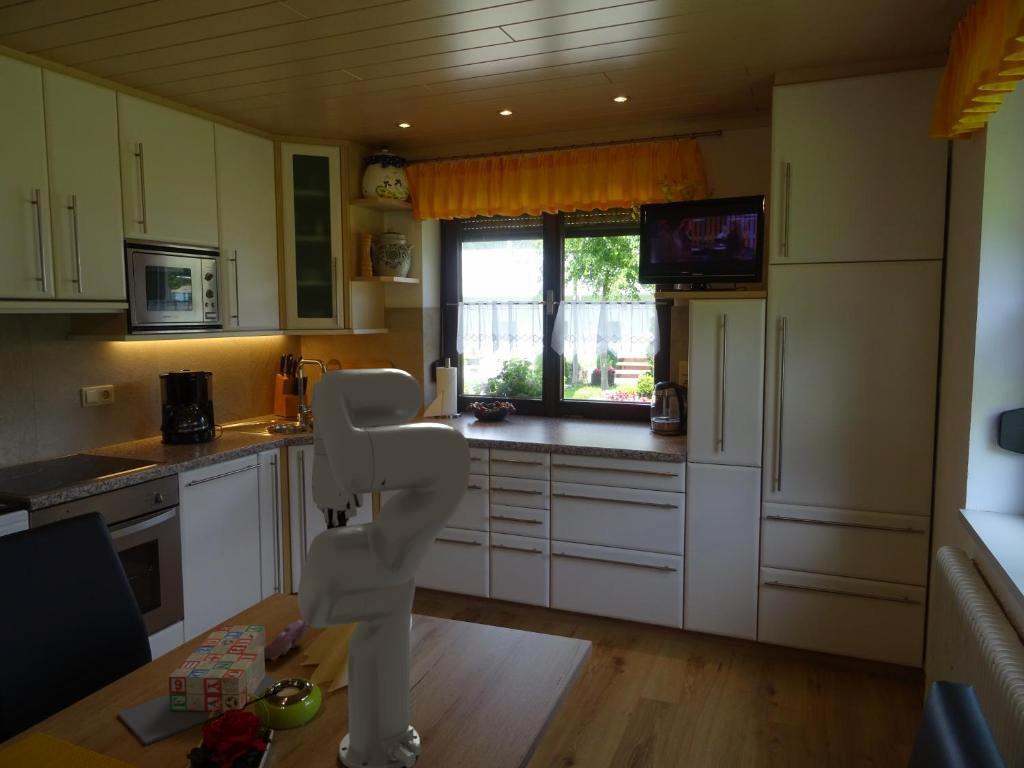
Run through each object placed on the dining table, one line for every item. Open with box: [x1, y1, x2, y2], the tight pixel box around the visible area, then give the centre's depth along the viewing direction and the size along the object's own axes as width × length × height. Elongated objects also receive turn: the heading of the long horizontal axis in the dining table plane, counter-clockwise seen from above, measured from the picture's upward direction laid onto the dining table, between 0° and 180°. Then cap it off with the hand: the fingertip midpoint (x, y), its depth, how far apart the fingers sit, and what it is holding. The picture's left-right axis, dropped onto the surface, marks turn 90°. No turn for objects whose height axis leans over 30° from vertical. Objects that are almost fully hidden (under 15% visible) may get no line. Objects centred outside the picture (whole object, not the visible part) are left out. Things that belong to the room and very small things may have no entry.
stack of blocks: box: [168, 624, 267, 712], centre depth 135 cm, size 21×6×12 cm
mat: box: [117, 673, 278, 746], centre depth 129 cm, size 12×24×1 cm, turn 137°
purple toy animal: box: [264, 619, 310, 660], centre depth 148 cm, size 10×5×7 cm, turn 165°
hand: (337, 544), depth 134 cm, fingers closed
